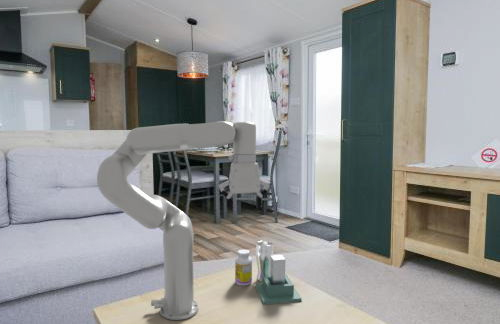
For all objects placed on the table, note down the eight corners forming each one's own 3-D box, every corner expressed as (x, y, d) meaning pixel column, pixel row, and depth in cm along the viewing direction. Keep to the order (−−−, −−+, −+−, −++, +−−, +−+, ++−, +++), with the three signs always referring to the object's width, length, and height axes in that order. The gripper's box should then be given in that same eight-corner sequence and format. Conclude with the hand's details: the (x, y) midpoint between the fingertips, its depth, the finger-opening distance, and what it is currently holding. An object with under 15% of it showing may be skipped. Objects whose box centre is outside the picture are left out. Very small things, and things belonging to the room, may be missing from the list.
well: (263, 304, 126) (263, 290, 125) (255, 286, 140) (255, 274, 139) (301, 300, 129) (301, 287, 128) (289, 283, 142) (290, 271, 142)
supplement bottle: (233, 279, 145) (233, 249, 144) (248, 277, 147) (249, 247, 146) (237, 287, 139) (237, 255, 137) (253, 285, 141) (254, 253, 139)
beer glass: (271, 283, 142) (272, 246, 141) (254, 281, 144) (254, 245, 142) (273, 276, 149) (274, 241, 147) (257, 274, 150) (257, 239, 149)
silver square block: (272, 294, 131) (273, 260, 130) (269, 288, 136) (270, 255, 134) (284, 293, 132) (285, 259, 131) (281, 287, 137) (282, 254, 135)
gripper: (219, 160, 114) (219, 213, 116) (272, 159, 118) (271, 210, 120) (217, 158, 122) (217, 207, 124) (266, 157, 125) (266, 205, 127)
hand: (244, 209), depth 122 cm, fingers open, 9 cm apart
